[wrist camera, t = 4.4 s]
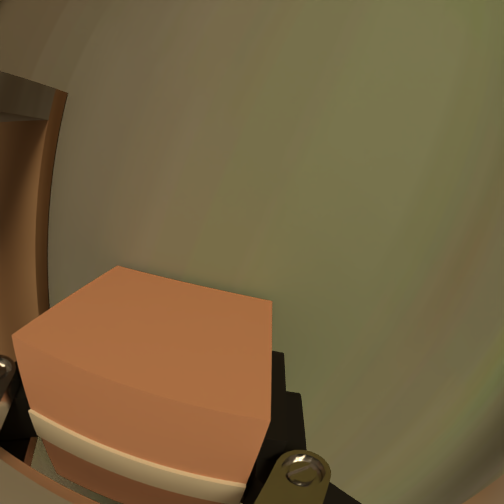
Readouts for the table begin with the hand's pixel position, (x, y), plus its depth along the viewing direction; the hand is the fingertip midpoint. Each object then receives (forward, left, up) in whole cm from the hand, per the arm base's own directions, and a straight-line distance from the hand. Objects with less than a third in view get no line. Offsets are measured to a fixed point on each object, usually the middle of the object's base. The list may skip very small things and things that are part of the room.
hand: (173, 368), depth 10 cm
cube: (0, 0, -1) cm, 1 cm away
